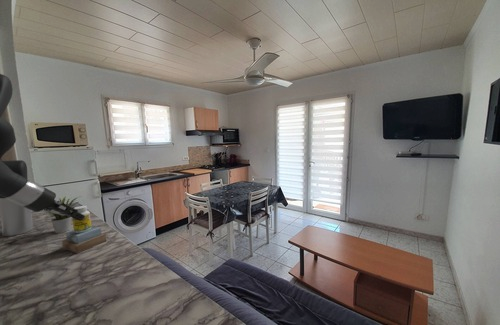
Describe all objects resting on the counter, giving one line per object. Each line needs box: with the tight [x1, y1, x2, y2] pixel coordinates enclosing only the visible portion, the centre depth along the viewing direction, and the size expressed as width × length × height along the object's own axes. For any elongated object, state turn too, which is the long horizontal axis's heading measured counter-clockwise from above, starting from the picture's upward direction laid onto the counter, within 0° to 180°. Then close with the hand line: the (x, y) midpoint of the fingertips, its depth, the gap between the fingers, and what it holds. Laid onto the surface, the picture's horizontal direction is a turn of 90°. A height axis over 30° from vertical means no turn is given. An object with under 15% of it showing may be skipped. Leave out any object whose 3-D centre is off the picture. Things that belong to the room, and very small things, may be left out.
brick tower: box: [61, 224, 107, 254], centre depth 80 cm, size 10×10×6 cm
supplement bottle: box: [72, 205, 92, 233], centre depth 79 cm, size 5×5×10 cm
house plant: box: [42, 196, 82, 234], centre depth 93 cm, size 14×14×16 cm
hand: (76, 217), depth 77 cm, fingers open, 8 cm apart
